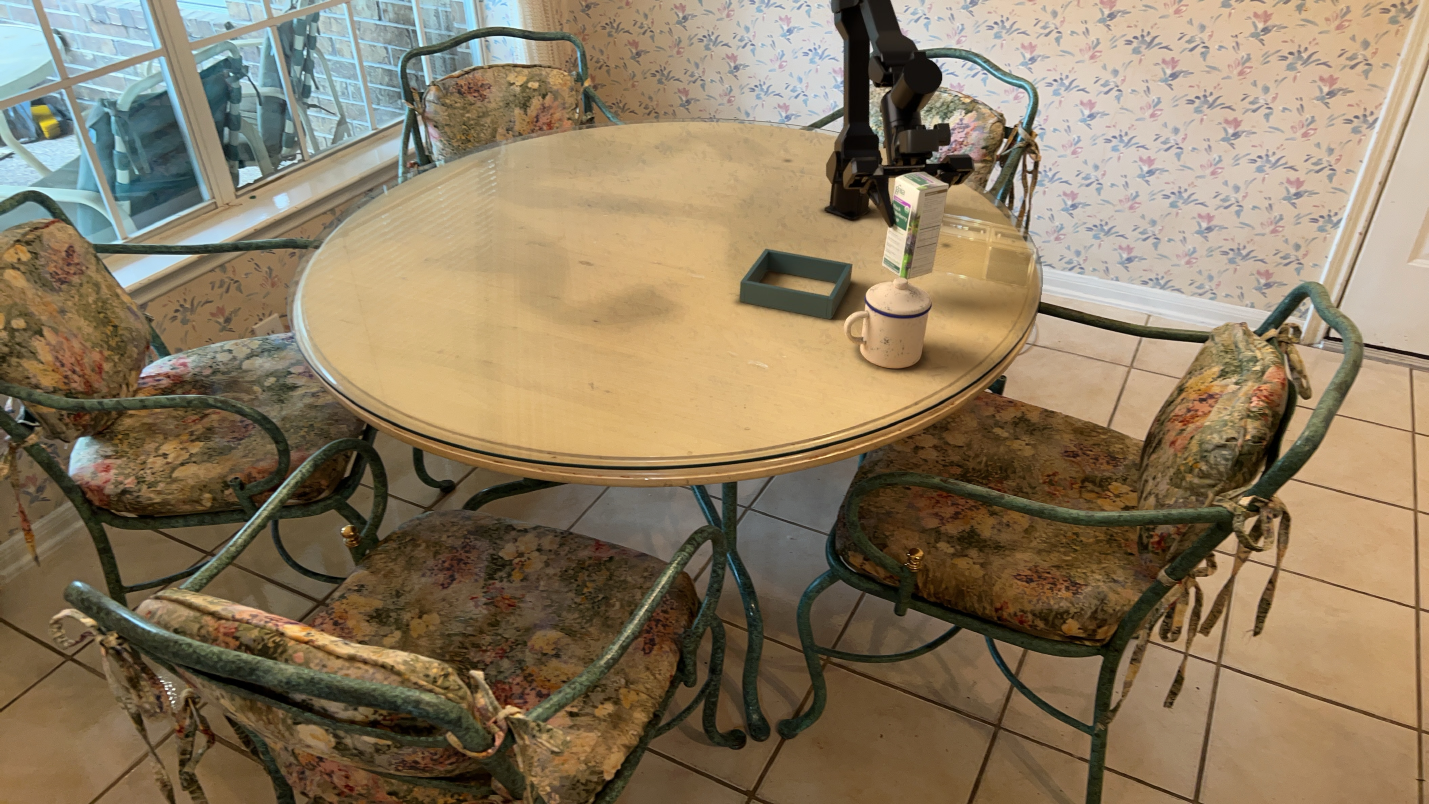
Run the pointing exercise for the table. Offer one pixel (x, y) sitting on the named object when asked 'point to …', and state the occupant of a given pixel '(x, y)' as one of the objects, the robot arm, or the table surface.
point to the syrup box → (915, 224)
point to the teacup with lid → (892, 323)
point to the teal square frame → (789, 297)
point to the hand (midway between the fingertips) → (914, 226)
